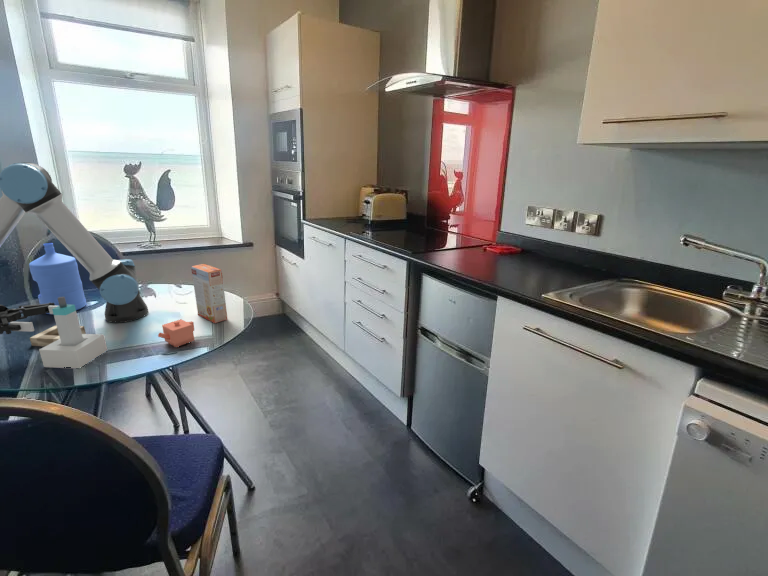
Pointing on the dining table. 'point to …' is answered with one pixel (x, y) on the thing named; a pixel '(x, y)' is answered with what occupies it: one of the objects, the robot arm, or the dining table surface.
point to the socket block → (73, 352)
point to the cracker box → (209, 292)
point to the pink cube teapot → (178, 332)
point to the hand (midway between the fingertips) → (51, 318)
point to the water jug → (57, 278)
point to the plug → (67, 323)
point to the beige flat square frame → (48, 336)
